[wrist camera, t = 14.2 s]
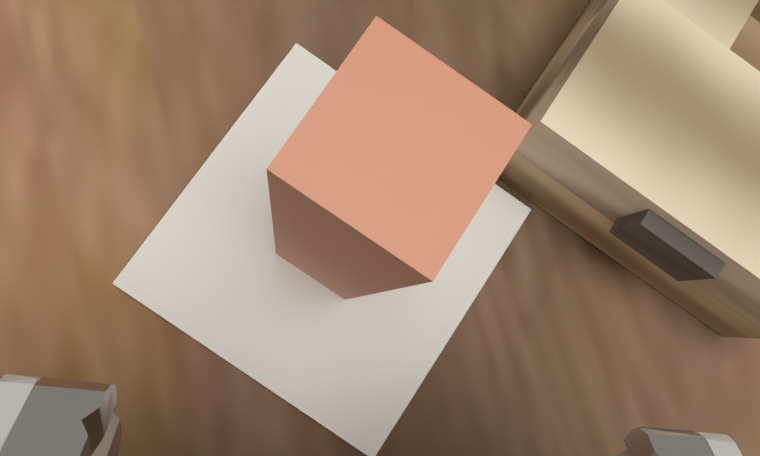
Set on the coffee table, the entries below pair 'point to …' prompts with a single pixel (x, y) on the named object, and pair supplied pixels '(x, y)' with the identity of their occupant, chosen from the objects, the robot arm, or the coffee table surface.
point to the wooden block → (387, 168)
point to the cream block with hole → (657, 148)
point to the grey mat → (303, 280)
